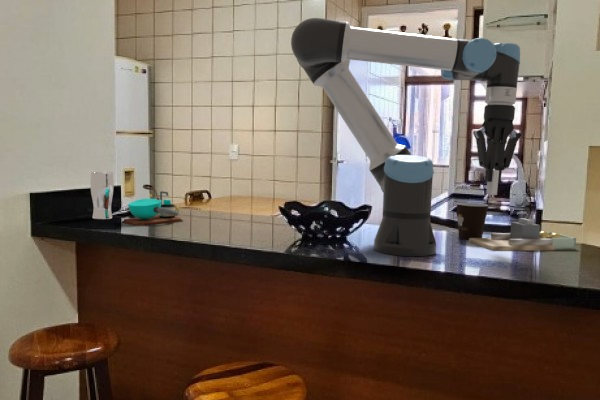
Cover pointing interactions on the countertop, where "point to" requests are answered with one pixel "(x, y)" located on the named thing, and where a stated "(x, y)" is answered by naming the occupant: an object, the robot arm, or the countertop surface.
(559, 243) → the tray
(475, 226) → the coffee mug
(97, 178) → the beer glass
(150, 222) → the contraption on wooden base
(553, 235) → the brass ball
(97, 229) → the countertop surface
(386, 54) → the robot arm
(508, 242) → the jig board
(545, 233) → the brass ball
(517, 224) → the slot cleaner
